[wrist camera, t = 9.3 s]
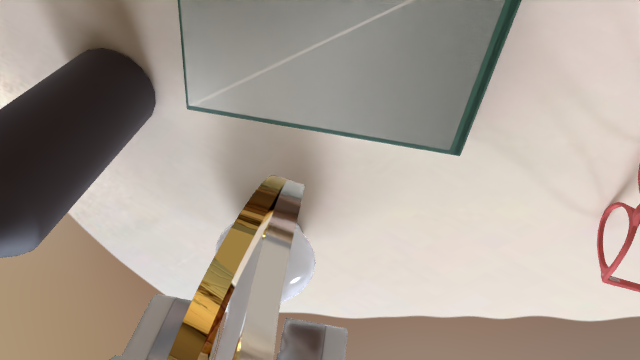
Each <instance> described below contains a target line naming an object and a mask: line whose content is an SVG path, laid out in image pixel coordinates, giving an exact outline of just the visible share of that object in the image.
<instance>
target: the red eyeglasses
mask: <svg viewBox="0 0 640 360" xmlns="http://www.w3.org/2000/svg"><path fill="white" fill-rule="evenodd" d="M638 183H639V191H640V165H639V172H638ZM621 206H622V207H624V208H625V209H626V211H627V213H628V216H629V230H628V234H627V238H626V240H625V243H624V245H623V247H622V249H621V251H620V252H619V254H618V256H617V257H616V259H615V260H614V262H613V263H612V264H611V266H610V267H608V266H607V264H606V262H605V259H604V253H603V232H604V227H605V223H606V220H607V218H608V216H609V214H610V213H611V212H612V210H614V209H615V208H617V207H621ZM639 224H640V204H639V205H638V206H637V208H636V209H634V208H632V207H630V206H628V205H626V204H624V203H621V202H617V203H613V204H612V205H610V206H609V207H608V208H607V209H606V211H605V212H604V214H603V216H602V218H601V221H600V224H599V229H598V237H597V249H598V258H599V263H600V268H601V278H602V281H603V282H604V283H607V284H610V285H614V286H618V287H622V288H626V289H630V290H634V291H638V292H640V284H637V283H633V282H630V281H626V280H623V279H619V278H616V277H612V276H611V274H612V273H613V272H614V271H615V270H616V268H617V267H618V265H619V264H620V263H621V261H622V259H623V258H624V256H625V255H626V253H627V251H628V249H629V248H630V246H631V244H632V241H633V239H634V236H635V233H636V230H637V228H638V226H639Z"/></svg>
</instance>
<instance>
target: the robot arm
mask: <svg viewBox="0 0 640 360" xmlns="http://www.w3.org/2000/svg"><path fill="white" fill-rule="evenodd" d="M191 302H192V301H191V300H185V299H180V298H177V297H171V296H165V295H159V294H156V295H155V296H154V297H153V298H152V300H151V301H150V303H149V305H148V307H147V309H146V310H145V312H144V314H143V316H142V318H141V320H140V322H139V324H138V326H137V328H136V330H135V331H134V333H133V335H132V337H131V339H130V341H129V343H128V345H127V347H126V349H125V351H124V353H123V354H122V356H116V355H115V356H114V357H112V358H111V359H110V360H167V358H168V355H169V353H170V350H171V348H172V345H173V343H174V340H175V338H176V336H177V333H178V331H179V328H180V326H181V324H182V322H183V319H184V317H185V315H186V313H187V311H188V308H189V306H190V304H191ZM218 338H219V328H218V331H217V334H216V337H215V340H214V343H213V346H212V350H211V353H210V357H209V360H213V357H214V354H215V351H216V347H217V343H218ZM346 342H347V330H346V328H340V327H335V326H329V325H325V324H320V323H313V322H308V321H302V320H295V319H290V318H286V320H285V324H284V328H283V333H282V338H281V346H280V352H279V353H278V355H277V359H276V360H345V353H346Z"/></svg>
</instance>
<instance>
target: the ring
mask: <svg viewBox="0 0 640 360" xmlns="http://www.w3.org/2000/svg"><path fill="white" fill-rule="evenodd" d="M304 187H305V185H303V184H300V183H297V182H293V181H290V179H287V178H283V177H279V176H276V175H271V176H269V177H268V178H267V179H266V180H265V181H264V182H263V183H262V184H261V185H260V186H259V187H258V189H257V190H256V191H255V193H254V194H253V195H252V197H251V198H250V200H249V201H248V202H247V204H246V205H245V207H244V208H243V210H242V211H241V213H240V214H239V216H238V218H237V219H236V221H235V222H234V224H233V226H232V227H231V229H230V231H229V232H228V234H227V236H226V237H225V239H224V241H223V242H222V244H221V246H220V248H219V250H218V251H217V253H216V255H215V257H214V259H213V260H212V262H211V264H210V266H209V268H208V270H207V272H206V274H205V276H204V278H203V280H202V282H201V284H200V286H199V288H198V290H197V292H196V294H195V296H194V298H193V300H192V302H191V304H190V306H189V308H188V311H187V313H186V315H185V317H184V319H183V322H182V324H181V326H180V328H179V331H178V333H177V336H176V338H175V340H174V343H173V345H172V348H171V350H170V353H169V355H168V358H167V360H209V357H210V353H211V350H212V346H213V343H214V340H215V337H216V334H217V331H218V328H219V325H220V323H221V320H222V317H223V315H224V312H225V310H226V307H227V305H228V302H229V300H230V298H231V295H232V293H233V291H234V289H235V286H236V284H237V282H238V280H239V278H240V276H241V274H242V272H243V270H244V268H245V266H246V264H247V262H248V260H249V258H250V256H251V254H252V252H253V250H254V248H255V246H256V245H257V243H258V241H259V239H260V237H261V236H262V234H263V237H262V240H264V242H263V245H262V249H261V252H260V256H259V260H258V263H257V267H256V271H255V275H254V279H253V283H252V287H251V291H250V296H249V301H248V306H247V311H246V314H245V318H244V321H243V325H242V328H241V332H240V335H239V339H238V342H237V346H236V349H235V352H234V356H233V359H232V360H274V349H275V338H276V329H277V322H278V315H279V308H280V302H281V296H282V290H283V284H284V279H285V274H286V269H287V264H288V259H289V254H290V249H291V245H292V240H293V236H294V231H295V227H296V222H297V218H298V213H299V209H300V205H301V201H302V196H303V192H304ZM263 232H264V233H263Z"/></svg>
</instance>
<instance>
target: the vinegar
mask: <svg viewBox="0 0 640 360" xmlns="http://www.w3.org/2000/svg"><path fill="white" fill-rule="evenodd" d="M154 107H155V92H154V89H153V87H152V84H151V82H150V80H149V78H148V77H147V76H146V74H145V73H144V71H143V70H142V69H141V68H140V67H139V66H138V65H137V64H136V63H134V62H133V61H132V60H131V59H130V58H128V57H126V56H124V55H122V54H120V53H118V52H116V51H112V50H107V49H103V48H102V49H92V50H87V51H85V52H84V53H82V54H80V55H78V56H77V57H75V58H74V59H72V60H71V61H70V62H68V63H67V64H65V65H64V66H62V67H61V68H59V69H58V70H57V71H55V72H54V73H52V74H51V75H49V76H48V77H46V78H45V79H44V80H42V81H41V82H39V83H38V84H36V85H35V86H33V87H32V88H31V89H29V90H28V91H26V92H25V93H23V94H22V95H20V96H19V97H18V98H16V99H15V100H13V101H12V102H10V103H9V104H7V105H6V106H4V107H3V108H2V109H0V258H3V257H12V256H18V255H21V254H24V253H27V252H30V251H32V250H34V249H35V248H36V247H37V246H38V245H39V244H40V243H41V242H42V240H43V239H44V238H45V237H46V236H47V235H48V234H49V232H50V231H51V230H52V229H53V228H54V227H55V226H56V224H57V223H58V222H59V221H60V220H61V219H62V218H63V216H64V215H65V214H66V213H67V212H68V211H69V210H70V208H71V207H72V206H73V205H74V204H75V203H76V202H77V200H78V199H79V198H80V197H81V196H82V195H83V193H84V192H85V191H86V190H87V189H88V188H89V187H90V185H91V184H92V183H93V182H94V181H95V180H96V179H97V177H98V176H99V175H100V174H101V173H102V172H103V171H104V169H105V168H106V167H107V166H108V165H109V164H110V163H111V161H112V160H113V159H114V158H115V157H116V156H117V154H118V153H119V152H120V151H121V150H122V149H123V148H124V146H125V145H126V144H127V143H128V142H129V141H130V140H131V138H132V137H133V136H134V135H135V134H136V133H137V132H138V130H139V129H140V128H141V127H142V126H143V125H144V123H145V122H146V121H147V120H148V119H149V118H150V117H151V115H152V113H153V110H154Z"/></svg>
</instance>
